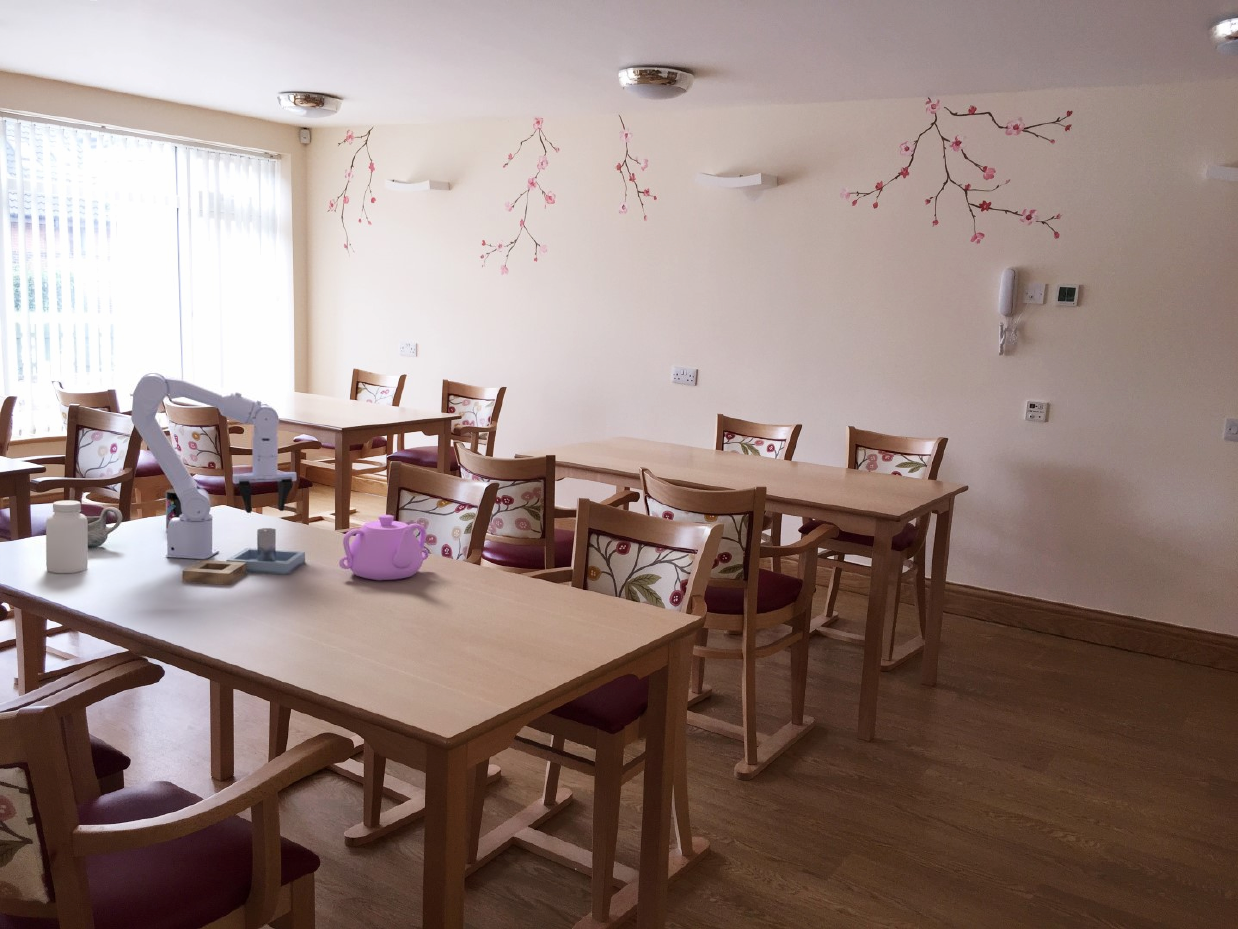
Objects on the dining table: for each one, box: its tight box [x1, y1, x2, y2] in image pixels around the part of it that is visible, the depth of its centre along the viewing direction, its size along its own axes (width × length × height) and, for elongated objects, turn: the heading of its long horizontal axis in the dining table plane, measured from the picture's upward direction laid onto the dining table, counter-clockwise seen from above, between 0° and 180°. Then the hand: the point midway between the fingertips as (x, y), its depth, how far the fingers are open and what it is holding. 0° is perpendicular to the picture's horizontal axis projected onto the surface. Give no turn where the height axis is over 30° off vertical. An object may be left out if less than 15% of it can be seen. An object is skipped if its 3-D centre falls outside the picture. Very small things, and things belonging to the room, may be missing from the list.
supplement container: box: [165, 488, 182, 530], centre depth 262 cm, size 7×7×10 cm
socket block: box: [181, 559, 247, 586], centre depth 220 cm, size 10×10×2 cm
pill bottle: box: [45, 499, 89, 574], centre depth 218 cm, size 8×8×15 cm
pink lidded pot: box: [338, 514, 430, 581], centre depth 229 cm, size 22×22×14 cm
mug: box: [86, 506, 123, 550], centre depth 238 cm, size 10×12×10 cm
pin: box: [256, 527, 277, 562], centre depth 231 cm, size 4×4×8 cm
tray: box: [225, 547, 306, 576], centre depth 232 cm, size 14×12×2 cm
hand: (264, 511), depth 243 cm, fingers open, 7 cm apart
